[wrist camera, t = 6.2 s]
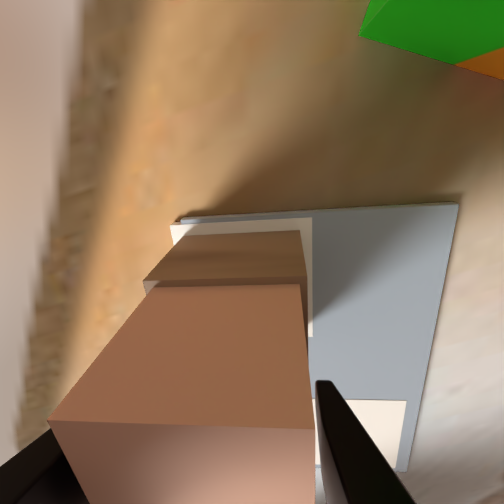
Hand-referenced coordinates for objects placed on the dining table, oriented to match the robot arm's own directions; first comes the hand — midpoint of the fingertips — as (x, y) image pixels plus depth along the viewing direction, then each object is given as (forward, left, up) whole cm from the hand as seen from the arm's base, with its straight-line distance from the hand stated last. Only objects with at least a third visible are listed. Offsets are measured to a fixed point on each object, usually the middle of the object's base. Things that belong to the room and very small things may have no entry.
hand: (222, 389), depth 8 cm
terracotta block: (0, 0, -2) cm, 2 cm away
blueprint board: (-5, -3, -6) cm, 9 cm away
